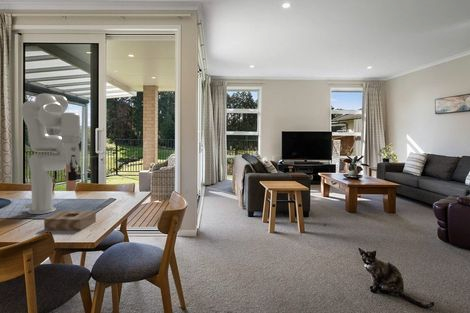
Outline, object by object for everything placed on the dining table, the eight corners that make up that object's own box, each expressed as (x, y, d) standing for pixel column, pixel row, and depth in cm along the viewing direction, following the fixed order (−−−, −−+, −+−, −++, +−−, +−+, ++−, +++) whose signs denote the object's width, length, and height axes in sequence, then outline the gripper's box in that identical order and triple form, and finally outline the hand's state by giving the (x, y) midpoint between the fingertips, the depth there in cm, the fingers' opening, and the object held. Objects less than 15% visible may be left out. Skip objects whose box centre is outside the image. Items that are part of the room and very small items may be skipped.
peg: (64, 190, 132) (63, 160, 131) (69, 189, 136) (68, 159, 135) (73, 191, 132) (72, 160, 131) (77, 189, 136) (77, 159, 135)
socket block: (44, 229, 128) (44, 218, 128) (62, 220, 142) (62, 210, 142) (80, 230, 128) (80, 219, 128) (95, 221, 142) (95, 211, 142)
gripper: (84, 140, 129) (84, 181, 130) (75, 139, 141) (76, 177, 142) (65, 140, 124) (65, 182, 125) (57, 139, 137) (58, 178, 138)
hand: (71, 179), depth 134 cm, fingers closed on peg, 4 cm apart
